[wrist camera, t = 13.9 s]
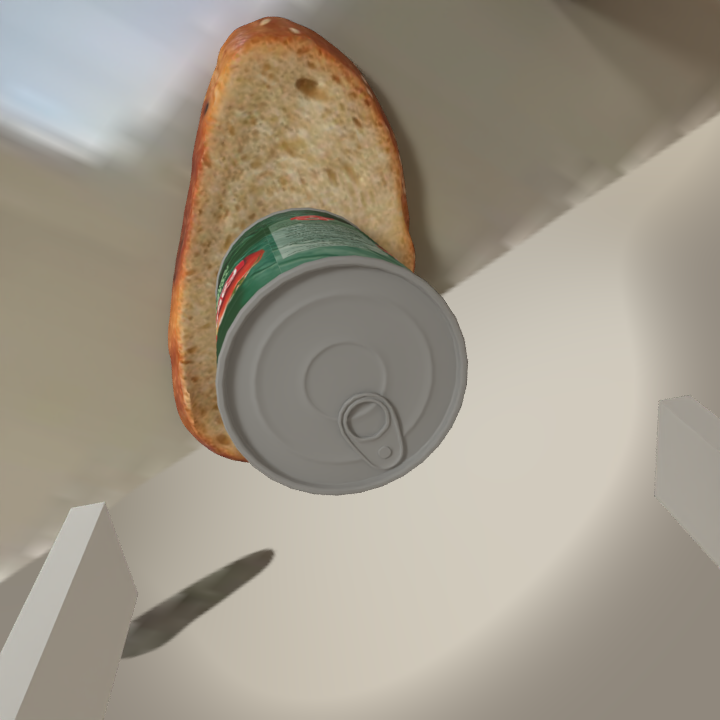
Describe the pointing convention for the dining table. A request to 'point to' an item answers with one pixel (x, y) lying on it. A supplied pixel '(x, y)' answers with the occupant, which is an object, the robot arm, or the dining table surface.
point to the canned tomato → (332, 355)
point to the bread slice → (274, 182)
